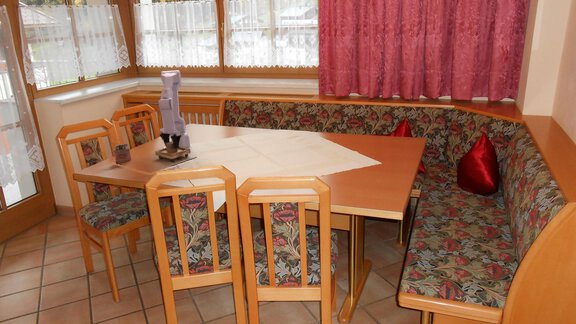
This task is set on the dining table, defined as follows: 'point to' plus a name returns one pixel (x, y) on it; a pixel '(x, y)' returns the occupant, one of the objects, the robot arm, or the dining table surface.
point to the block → (171, 147)
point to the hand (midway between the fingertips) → (172, 147)
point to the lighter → (122, 153)
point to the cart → (165, 154)
